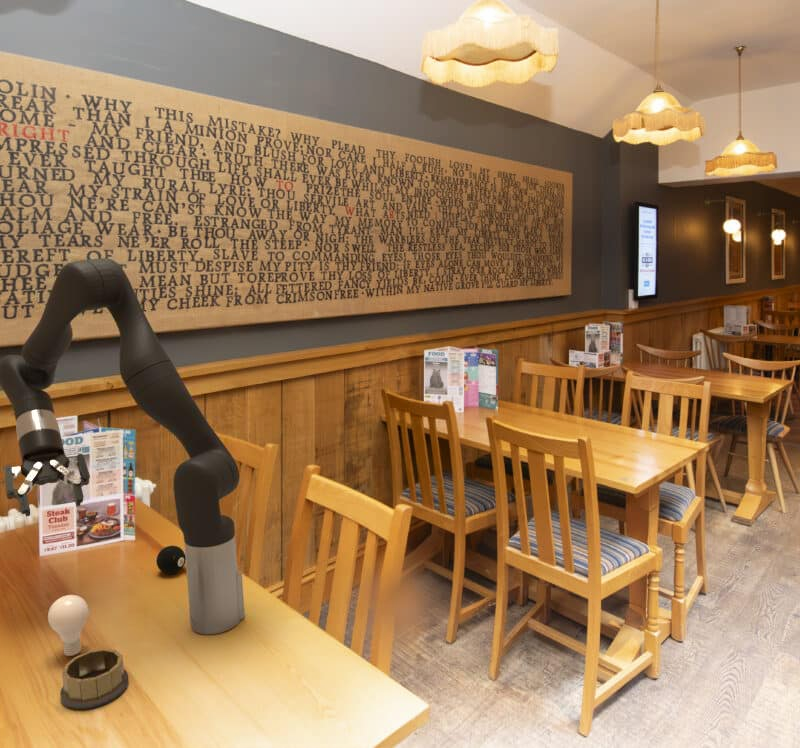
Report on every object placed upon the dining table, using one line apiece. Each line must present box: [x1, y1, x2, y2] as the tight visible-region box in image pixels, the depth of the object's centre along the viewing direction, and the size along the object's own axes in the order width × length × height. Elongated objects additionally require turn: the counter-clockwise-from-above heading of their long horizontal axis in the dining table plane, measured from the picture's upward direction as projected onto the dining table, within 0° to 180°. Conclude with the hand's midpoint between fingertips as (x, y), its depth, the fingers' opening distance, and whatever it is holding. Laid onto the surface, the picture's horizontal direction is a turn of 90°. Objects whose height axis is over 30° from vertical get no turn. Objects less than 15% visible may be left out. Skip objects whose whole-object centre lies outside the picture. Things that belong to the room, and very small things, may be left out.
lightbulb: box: [47, 594, 89, 657], centre depth 115 cm, size 6×6×11 cm
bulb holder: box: [59, 648, 130, 711], centre depth 106 cm, size 10×10×4 cm
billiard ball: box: [156, 545, 186, 575], centre depth 146 cm, size 6×6×6 cm
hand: (54, 509), depth 124 cm, fingers open, 8 cm apart
